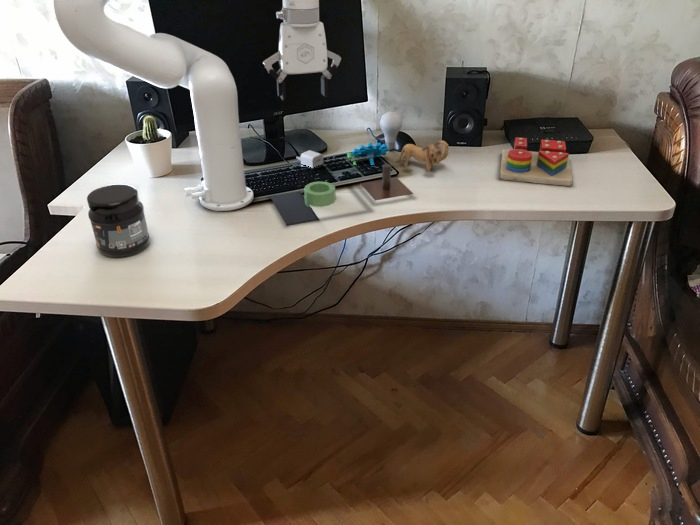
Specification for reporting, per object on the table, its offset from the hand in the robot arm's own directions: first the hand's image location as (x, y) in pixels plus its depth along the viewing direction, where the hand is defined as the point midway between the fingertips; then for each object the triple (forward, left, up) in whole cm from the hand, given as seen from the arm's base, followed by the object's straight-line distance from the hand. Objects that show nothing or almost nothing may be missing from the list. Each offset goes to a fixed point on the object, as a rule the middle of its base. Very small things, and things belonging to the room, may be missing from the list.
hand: (303, 97), depth 134 cm
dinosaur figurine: (+19, +8, -23) cm, 31 cm away
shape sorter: (+59, -10, -23) cm, 64 cm away
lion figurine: (+31, 0, -23) cm, 39 cm away
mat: (0, -9, -23) cm, 25 cm away
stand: (+17, -9, -23) cm, 30 cm away
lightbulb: (+29, +16, -23) cm, 41 cm away
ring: (0, -9, -23) cm, 24 cm away
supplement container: (-44, -13, -23) cm, 51 cm away
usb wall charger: (+4, +13, -23) cm, 27 cm away
